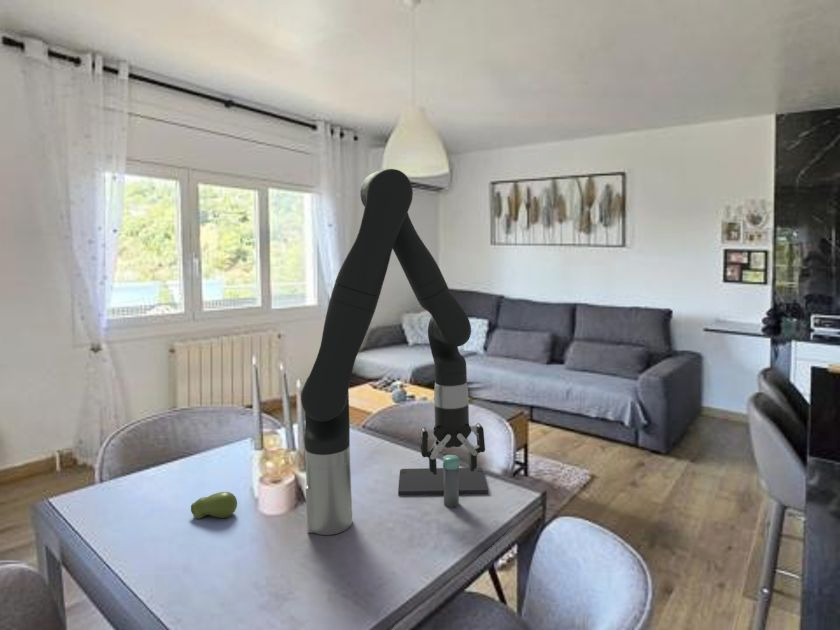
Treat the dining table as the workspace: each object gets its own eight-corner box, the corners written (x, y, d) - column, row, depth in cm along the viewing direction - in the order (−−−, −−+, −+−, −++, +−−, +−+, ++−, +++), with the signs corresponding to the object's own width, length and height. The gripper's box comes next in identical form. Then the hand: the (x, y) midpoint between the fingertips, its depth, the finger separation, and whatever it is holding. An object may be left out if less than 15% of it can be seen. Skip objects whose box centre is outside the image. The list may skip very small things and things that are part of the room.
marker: (445, 508, 117) (444, 461, 116) (442, 501, 121) (441, 455, 119) (460, 507, 118) (460, 460, 116) (457, 499, 121) (457, 454, 120)
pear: (226, 498, 112) (183, 504, 113) (232, 521, 113) (189, 526, 114) (238, 486, 117) (196, 491, 119) (243, 508, 118) (202, 513, 119)
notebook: (398, 497, 124) (488, 496, 124) (397, 491, 124) (488, 489, 124) (400, 474, 136) (481, 473, 136) (400, 468, 136) (481, 467, 136)
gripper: (421, 409, 111) (424, 482, 113) (487, 404, 113) (488, 476, 115) (417, 399, 118) (419, 467, 121) (478, 394, 120) (480, 462, 122)
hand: (453, 471), depth 118 cm, fingers open, 8 cm apart
